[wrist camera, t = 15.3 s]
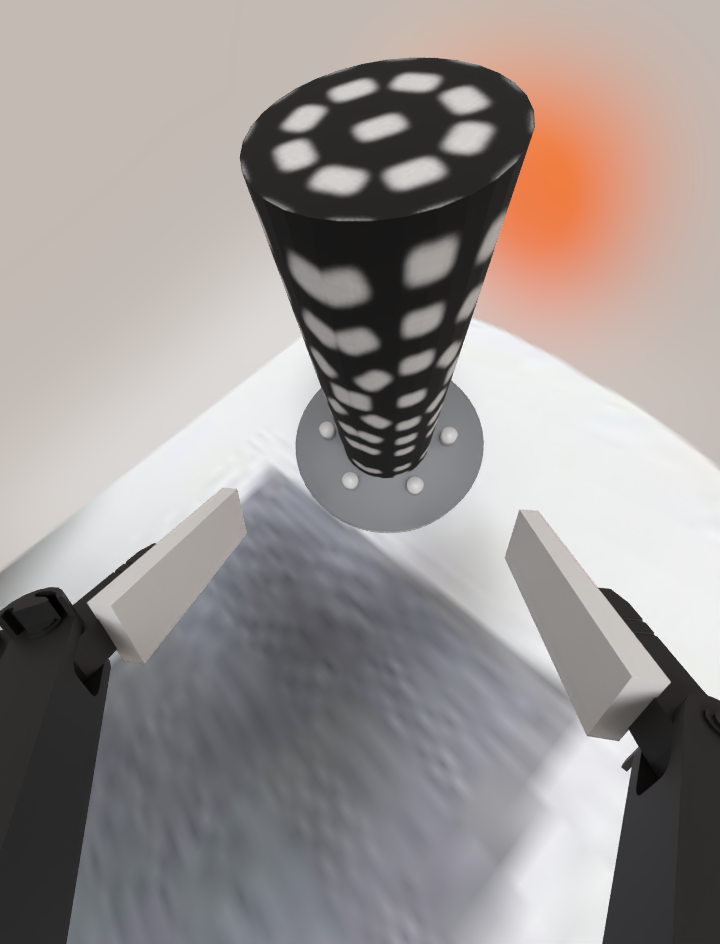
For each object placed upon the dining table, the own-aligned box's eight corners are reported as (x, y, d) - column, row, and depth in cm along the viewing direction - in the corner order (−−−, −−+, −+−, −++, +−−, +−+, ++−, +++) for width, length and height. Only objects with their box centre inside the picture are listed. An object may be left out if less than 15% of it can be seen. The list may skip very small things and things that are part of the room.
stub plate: (285, 523, 26) (274, 519, 24) (314, 368, 32) (308, 351, 30) (482, 542, 24) (492, 539, 22) (475, 371, 30) (484, 353, 27)
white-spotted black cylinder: (409, 389, 28) (453, 33, 9) (444, 460, 25) (603, 153, 7) (333, 416, 28) (220, 107, 9) (358, 490, 25) (272, 263, 6)
